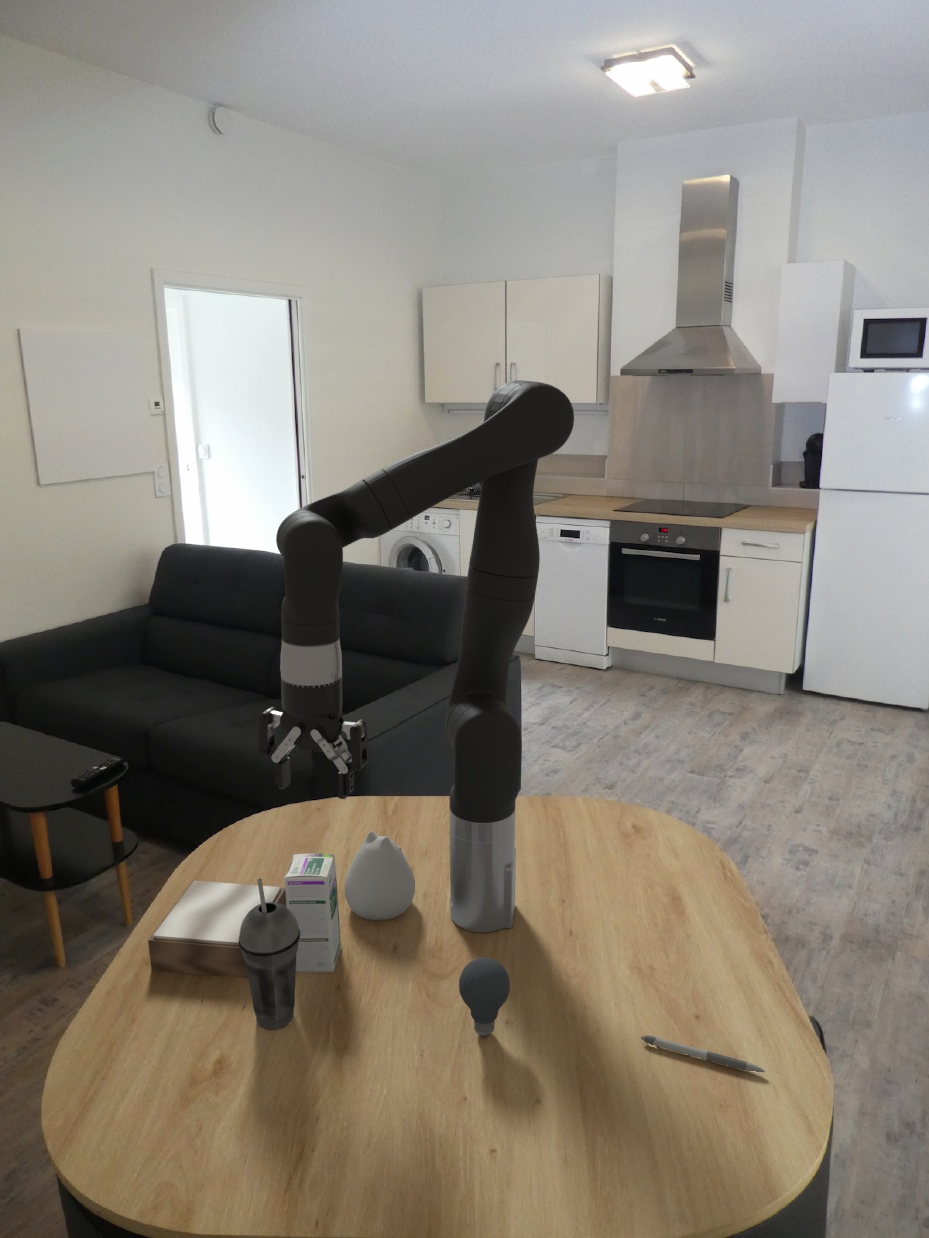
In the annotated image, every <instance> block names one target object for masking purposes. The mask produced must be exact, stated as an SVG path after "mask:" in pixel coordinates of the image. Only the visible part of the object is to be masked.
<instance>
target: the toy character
mask: <svg viewBox="0 0 929 1238" xmlns="http://www.w3.org/2000/svg"><path fill="white" fill-rule="evenodd" d="M415 893H416V879H415V876H414V872H413V869H412V867H411V866H410V864H409V862H408V859H407V857H406V856H405V854H404V853H403V851H402V847H401V846H400V845H398V844H397V843H396V842H395V841H393V840H392V838H390V837H389V836H387V835H386V836H383V835H380V836H379V835H378V834H377V833H376V832H375V831H374V830H371V831H369V832H368V833H367V835H366V836H365V838H364V840H363V842H362V844H361V846H360V847H359V848H358V850H357V852H356V854H355V855H354V858H353V859H352V862H351V864H350V866H349V869H348V871H347V874H346V876H345V882H344V895H345V899H346V901H347V904H348V906H349V908H350V910H351V911H353V913H355V914H356V915H357V916H359V917H361V918H364V919H367V920H371V921H373V920H374V921H383V920H384V921H386V920H390V919H393V918H396V917H398V916H400V915H401V914H403V913H404V912H405V911H406V910H407V909H408V908H409V907H410V905H412V902H413V900H414V896H415Z"/></svg>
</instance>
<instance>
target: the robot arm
mask: <svg viewBox="0 0 929 1238" xmlns="http://www.w3.org/2000/svg"><path fill="white" fill-rule="evenodd" d="M574 412H575V411H574V408H573V405H572V402H571V401H570V398H569V397H568V396H567V395H566V393H564V392H563V391H562V390H561V389H559V388H558V387H556V386H553V385H552V384H549V383H545V382H540V381H530V380H519V379H517V380H516V379H515V380H511V381H508V382H505V383H504V384H502V385H501V386H499V387H498V388H497V389H496V390H495V391H494V392H493V393H492V395H491V396H490V398H489V399H488V403H487V405H486V407H485V411H484V417H483V422H482V423H480V424H479V425H476V426H475V427H474V428H471V429H470V430H468V431H466V432H465V433H463V434H461V435H458V436H457V437H454V438H453V439H449V440H447V441H445V442H442V443H439V444H437V445H435V446H432V447H429V448H426V449H423V450H421V451H420V450H419V451H418V452H415V453H412V454H410V455H407V456H405V457H402V458H400V459H398V460H396V461H393V462H392V463H390V464H387V465H386V466H384V467H382V468H380V469H379V470H376V471H375V472H373V473H371V474H370V475H368V476H366V477H364V478H362V479H361V480H359V481H357V482H355V483H354V484H353V485H351V486H350V487H348V488H346V489H344V490H341V491H339V492H335V493H333V494H330V495H328V496H325V497H323V498H321V499H318V500H315V501H313V502H311V503H309V504H306V505H304V506H302V507H300V508H298V509H297V510H295V511H293V512H292V513H290V514H289V515H288V516H286V517H285V518H284V519H283V520H282V522H281V523H280V524H279V526H278V528H277V532H276V538H275V542H276V546H277V550H278V551H279V553H280V555H281V557H282V558H283V559H282V560H283V567H284V568H283V569H284V592H285V595H284V597H283V600H282V602H281V612H280V614H281V615H280V617H281V618H280V619H281V650H280V665H279V670H280V686H281V689H280V690H281V708H282V710H283V711H278V710H277V709H276V708H275V707H274V706H271V707H269V708H267V709H265V710H264V711H263V712H261V713H260V714H259V720H258V721H259V729H258V732H259V733H258V753H259V755H260V756H261V757H268V758H270V759H271V761H272V762H273V775H274V778H273V779H274V783H275V784H277V787H278V788H277V789H280V790H286V788H287V787H288V786H290V784H291V782H292V778H291V777H292V776H291V757H289V756H288V755H289V754H290V752H291V751H292V750H293V749H294V748H295V746H296V747H297V748H298V750H303V751H306V750H307V751H308V750H310V751H312V752H315V753H322V752H323V753H324V755H325V756H326V757H327V759H328V760H329V761H331V762H333V763H334V765H335V766H336V768H337V770H339V772H338V773H337V774H338V775H337V779H338V781H337V785H338V786H337V787H338V788H337V789H338V790H337V792H338V794H337V795H338V799H340V800H345V799H346V798H347V797H349V795H350V794H352V793H353V791H354V789H355V772H359V771H361V770H362V769H363V768H364V767H365V765H366V764H368V763H369V745H368V733H367V732H368V731H367V722H366V720H364V719H359V720H357V721H356V722H353V721H345V719H344V717H343V712H342V711H343V658H342V657H343V656H342V649H341V648H342V647H341V640H340V608H339V597H340V593H341V585H342V577H343V568H344V567H343V566H344V549H343V548H345V547H347V546H350V545H351V544H353V543H356V542H357V541H359V540H362V539H375V538H378V537H380V536H383V535H385V534H387V533H389V532H390V531H392V530H395V529H396V528H398V527H399V526H401V525H404V524H405V523H406V522H408V521H410V520H412V519H414V518H416V517H417V516H418V515H420V514H421V513H423V512H426V511H427V510H428V509H431V508H432V507H434V506H436V505H438V504H440V503H442V502H444V501H445V500H447V499H450V497H452V496H455V495H456V494H459V493H461V492H462V491H464V490H466V489H468V488H470V487H472V486H474V485H477V484H478V483H481V485H480V492H479V493H480V494H479V500H478V504H477V512H476V518H475V524H474V532H473V540H472V543H471V544H472V545H471V550H470V557H469V563H468V569H467V570H468V571H467V575H466V576H467V578H466V585H465V593H464V606H463V612H462V613H463V614H462V621H461V622H462V623H461V633H460V634H461V635H460V649H459V657H458V663H457V667H456V672H455V675H454V676H455V677H454V679H453V684H452V686H451V687H452V689H451V692H450V696H449V699H448V704H447V707H446V712H445V719H444V727H445V733H446V736H447V739H448V741H449V743H450V745H451V747H452V749H453V751H454V780H453V781H454V782H453V783H454V784H452V787H451V788H450V790H449V892H450V893H449V895H450V896H449V906H450V907H449V908H450V909H449V911H450V917H451V920H452V922H453V923H455V924H456V925H457V926H458V927H460V928H461V929H463V930H467V931H469V932H475V933H490V932H495V931H499V930H501V929H512V928H513V925H514V924H513V922H514V915H515V908H516V880H517V879H516V872H517V871H516V869H517V867H516V865H517V864H516V863H517V848H516V847H515V844H516V843H515V841H516V801H517V800H516V799H517V797H518V795H519V794H520V789H521V787H520V786H521V776H522V775H521V773H522V756H523V755H522V754H523V753H522V752H523V742H522V740H523V739H522V733H521V727H520V725H519V723H518V721H517V720H516V718H515V717H514V716H513V714H512V713H511V711H510V710H509V709H508V706H507V691H508V680H509V671H510V666H511V665H510V664H511V661H512V657H513V653H514V650H515V648H516V647H517V644H518V642H519V641H520V638H521V637H522V634H523V633H524V631H525V629H526V627H527V624H528V622H529V620H530V616H531V614H532V611H533V607H534V604H535V603H534V602H535V598H536V593H537V585H538V579H539V572H540V561H541V559H540V555H541V554H540V553H541V552H540V544H539V536H538V535H539V534H538V528H537V521H536V513H535V506H534V490H535V489H534V487H535V479H536V474H537V469H538V462H539V459H542V458H544V457H548V456H550V455H552V454H554V453H555V452H557V451H559V450H560V449H561V448H562V447H563V446H564V445H565V443H566V442H567V441H568V440H569V438H570V436H571V434H572V431H573V428H574V423H575V413H574ZM279 725H281V726H282V727H283V729H284V731H285V732H286V735H287V736H286V737H285V738H284V739H283V740H282V742H281V743H280V744H279V745H277V730H278V726H279ZM342 733H345V734H346V739H347V740H348V741H349V740H350V741H349V742H350V751H349V749H348V745H347V743H346V741H345V740H344V738H343V737H342V736H341V735H342ZM333 744H334V746H333ZM334 747H335V748H334Z"/></svg>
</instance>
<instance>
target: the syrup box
mask: <svg viewBox="0 0 929 1238" xmlns="http://www.w3.org/2000/svg"><path fill="white" fill-rule="evenodd" d="M336 868H337V867H336V855H335V854H332V853H331V854H330V853H321V852H320V853H317V852H316V853H314V852H313V853H312V852H311V853H308V852H307V853H298V854H297V853H295V854H294V853H293V856H292V859H291V861H290V863H289V865H288V867H287V871H286V873H285V876H284V879H283V880H284V888H285V891H286V904H287V908H288V909H289V910H290V911H291V912H292V913H293V915H294V916H295V918H296V920H297V923H298V928H299V930H300V938H299V943H298V950H297V953H296V973H334V971H335V968H336V965H337V963H338V958H339V954H340V950H341V946H342V944H341V943H342V942H341V928H340V912H339V897H338V884H337V883H338V882H337V869H336Z"/></svg>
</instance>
